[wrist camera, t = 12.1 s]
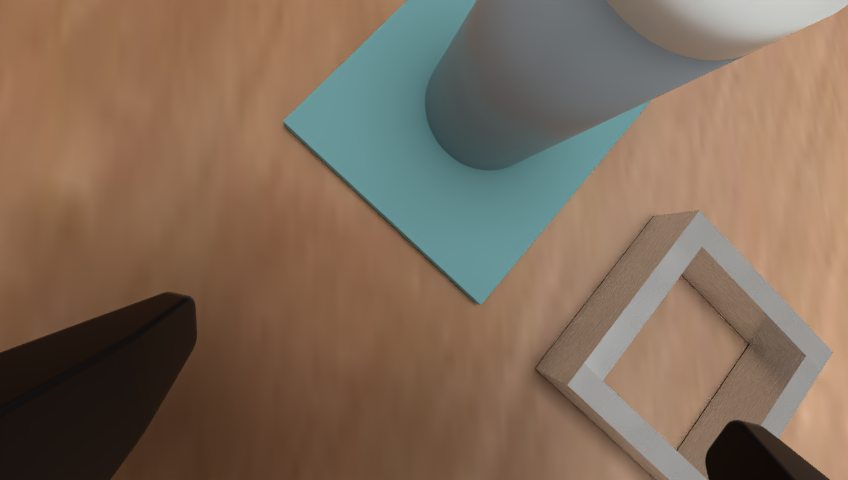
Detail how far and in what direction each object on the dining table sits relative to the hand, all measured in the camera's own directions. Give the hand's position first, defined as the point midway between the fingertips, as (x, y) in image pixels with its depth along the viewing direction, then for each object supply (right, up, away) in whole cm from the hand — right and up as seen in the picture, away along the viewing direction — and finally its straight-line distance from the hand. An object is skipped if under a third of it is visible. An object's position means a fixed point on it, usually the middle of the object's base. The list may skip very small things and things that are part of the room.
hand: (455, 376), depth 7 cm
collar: (+10, -3, +12) cm, 16 cm away
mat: (+2, +8, +11) cm, 13 cm away
